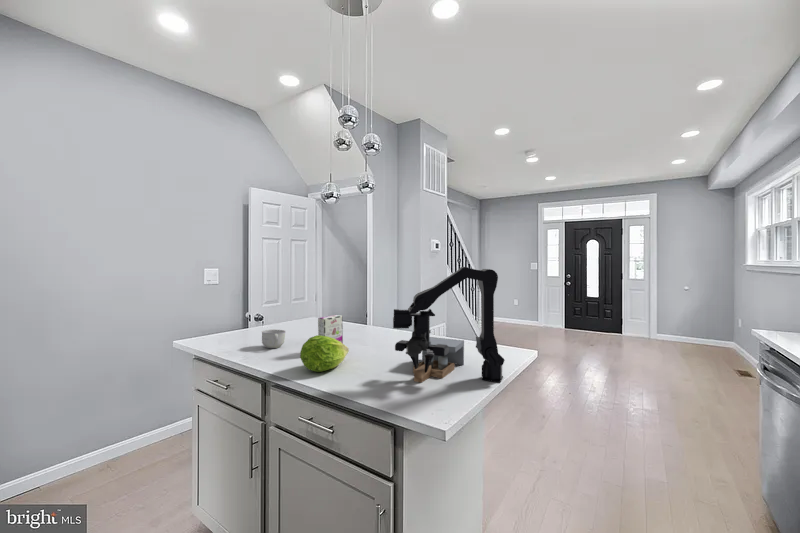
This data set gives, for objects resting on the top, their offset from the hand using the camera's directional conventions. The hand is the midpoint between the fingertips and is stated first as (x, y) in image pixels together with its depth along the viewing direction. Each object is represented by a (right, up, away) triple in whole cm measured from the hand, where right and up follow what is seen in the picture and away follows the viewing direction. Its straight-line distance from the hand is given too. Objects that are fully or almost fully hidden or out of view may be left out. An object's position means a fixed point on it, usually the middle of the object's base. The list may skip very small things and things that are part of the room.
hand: (421, 371), depth 129 cm
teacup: (-69, -2, +45) cm, 82 cm away
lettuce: (-36, -3, +15) cm, 39 cm away
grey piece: (+8, -3, +17) cm, 19 cm away
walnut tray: (+4, -3, +6) cm, 8 cm away
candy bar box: (-40, -2, +38) cm, 55 cm away
